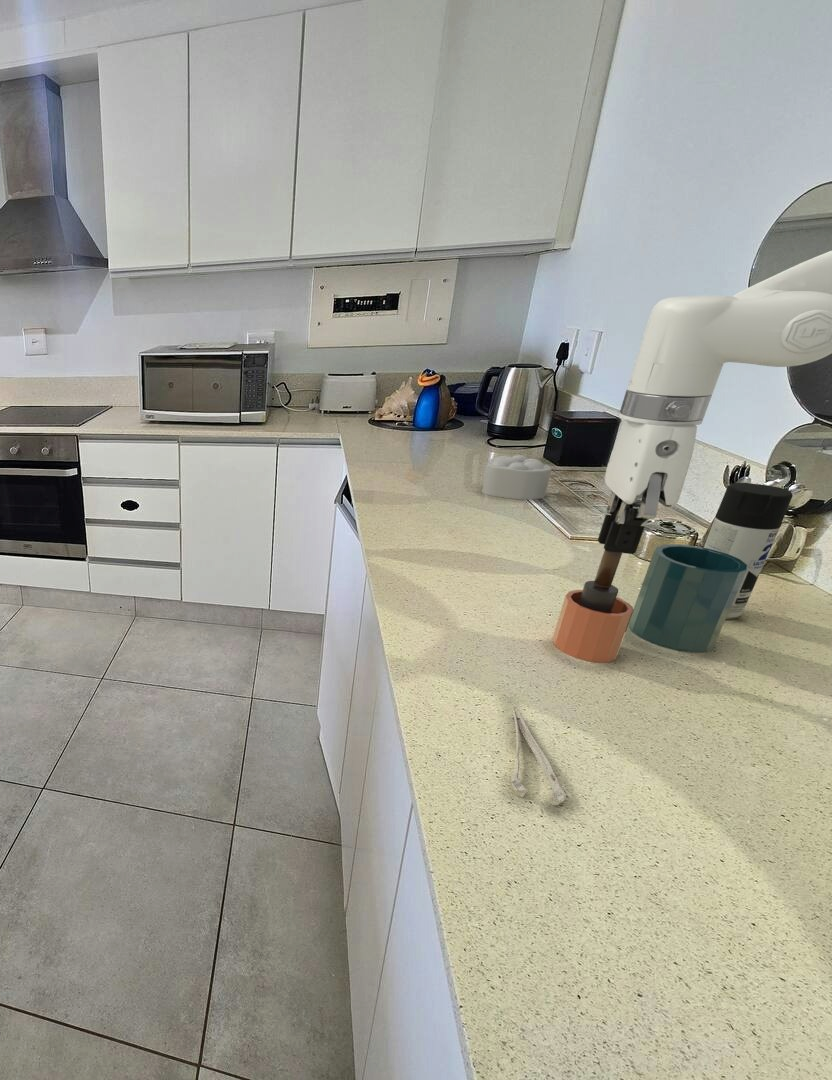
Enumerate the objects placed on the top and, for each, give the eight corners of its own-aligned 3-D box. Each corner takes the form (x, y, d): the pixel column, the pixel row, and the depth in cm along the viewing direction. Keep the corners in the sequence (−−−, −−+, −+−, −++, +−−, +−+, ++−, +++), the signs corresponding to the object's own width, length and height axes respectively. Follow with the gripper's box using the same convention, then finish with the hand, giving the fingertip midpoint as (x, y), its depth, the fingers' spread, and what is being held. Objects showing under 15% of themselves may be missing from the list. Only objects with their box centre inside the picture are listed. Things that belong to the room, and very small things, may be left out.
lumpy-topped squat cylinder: (484, 483, 151) (491, 451, 148) (544, 490, 144) (553, 456, 141) (480, 494, 143) (488, 460, 140) (544, 502, 136) (553, 467, 133)
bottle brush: (598, 626, 82) (640, 504, 75) (606, 639, 79) (651, 514, 72) (567, 621, 83) (606, 502, 76) (574, 634, 80) (615, 511, 73)
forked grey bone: (565, 809, 58) (570, 793, 57) (510, 795, 60) (513, 779, 59) (531, 711, 73) (534, 698, 72) (487, 703, 75) (490, 689, 74)
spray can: (738, 625, 86) (795, 499, 79) (677, 609, 91) (725, 489, 83) (742, 609, 90) (797, 488, 83) (684, 594, 95) (730, 478, 87)
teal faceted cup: (694, 627, 86) (727, 548, 81) (724, 661, 79) (762, 576, 74) (618, 617, 90) (644, 541, 85) (639, 648, 82) (670, 566, 77)
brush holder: (605, 642, 84) (622, 594, 81) (623, 670, 78) (641, 619, 75) (546, 633, 87) (560, 586, 84) (558, 660, 81) (574, 610, 77)
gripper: (738, 422, 61) (677, 578, 68) (675, 397, 74) (630, 529, 81) (647, 419, 64) (598, 568, 71) (603, 395, 77) (565, 523, 84)
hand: (615, 547), depth 76 cm, fingers closed on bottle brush
